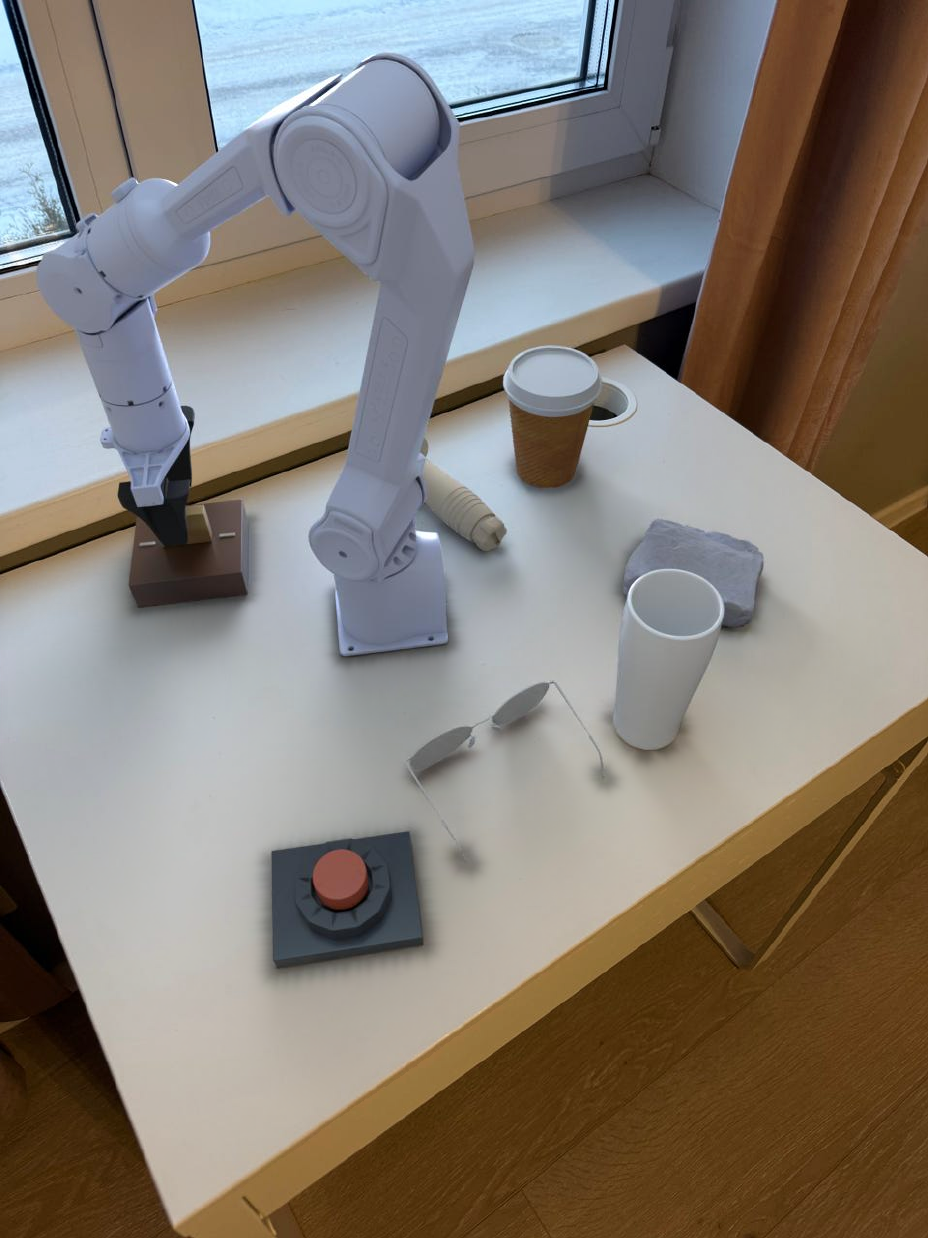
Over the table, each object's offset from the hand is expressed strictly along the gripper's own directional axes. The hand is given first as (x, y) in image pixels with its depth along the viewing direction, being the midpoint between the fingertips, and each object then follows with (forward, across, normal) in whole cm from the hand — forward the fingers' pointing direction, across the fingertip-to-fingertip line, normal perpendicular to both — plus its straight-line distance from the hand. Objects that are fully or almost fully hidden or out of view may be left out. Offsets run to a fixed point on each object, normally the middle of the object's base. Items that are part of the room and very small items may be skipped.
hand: (178, 513), depth 81 cm
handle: (+5, +3, +29) cm, 29 cm away
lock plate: (+6, 0, 0) cm, 6 cm away
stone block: (+6, +10, +46) cm, 48 cm away
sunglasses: (+6, +28, +25) cm, 38 cm away
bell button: (+4, +36, +12) cm, 38 cm away
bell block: (+6, +36, +12) cm, 38 cm away
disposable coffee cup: (+6, -8, +36) cm, 37 cm away
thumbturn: (+3, 0, 0) cm, 3 cm away
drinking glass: (+6, +25, +37) cm, 45 cm away
